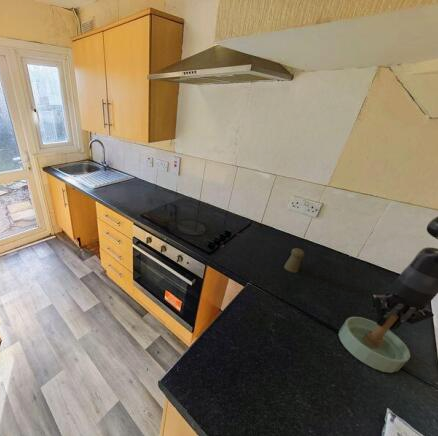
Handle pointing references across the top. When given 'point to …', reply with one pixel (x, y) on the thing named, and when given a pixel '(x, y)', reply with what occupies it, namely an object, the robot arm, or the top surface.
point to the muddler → (379, 332)
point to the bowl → (374, 357)
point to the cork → (294, 260)
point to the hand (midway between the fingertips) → (384, 325)
